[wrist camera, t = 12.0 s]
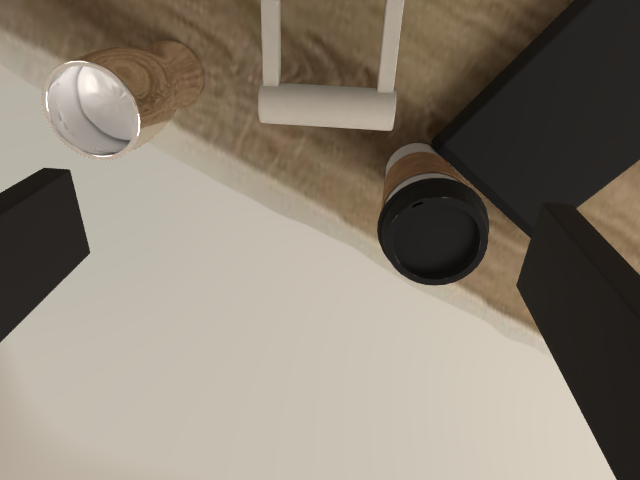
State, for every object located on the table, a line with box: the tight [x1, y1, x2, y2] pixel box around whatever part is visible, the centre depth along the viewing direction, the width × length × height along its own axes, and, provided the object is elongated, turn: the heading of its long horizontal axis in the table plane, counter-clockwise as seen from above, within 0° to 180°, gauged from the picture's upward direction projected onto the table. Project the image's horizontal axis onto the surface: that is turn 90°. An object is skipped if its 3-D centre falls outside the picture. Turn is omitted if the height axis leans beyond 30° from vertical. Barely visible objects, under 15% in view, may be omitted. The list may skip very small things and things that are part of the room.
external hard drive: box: [432, 0, 640, 238], centre depth 40 cm, size 14×23×3 cm, turn 140°
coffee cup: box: [377, 143, 489, 285], centre depth 39 cm, size 8×8×15 cm
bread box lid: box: [258, 0, 404, 131], centre depth 24 cm, size 17×16×8 cm
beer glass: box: [42, 40, 204, 160], centre depth 36 cm, size 7×7×15 cm
